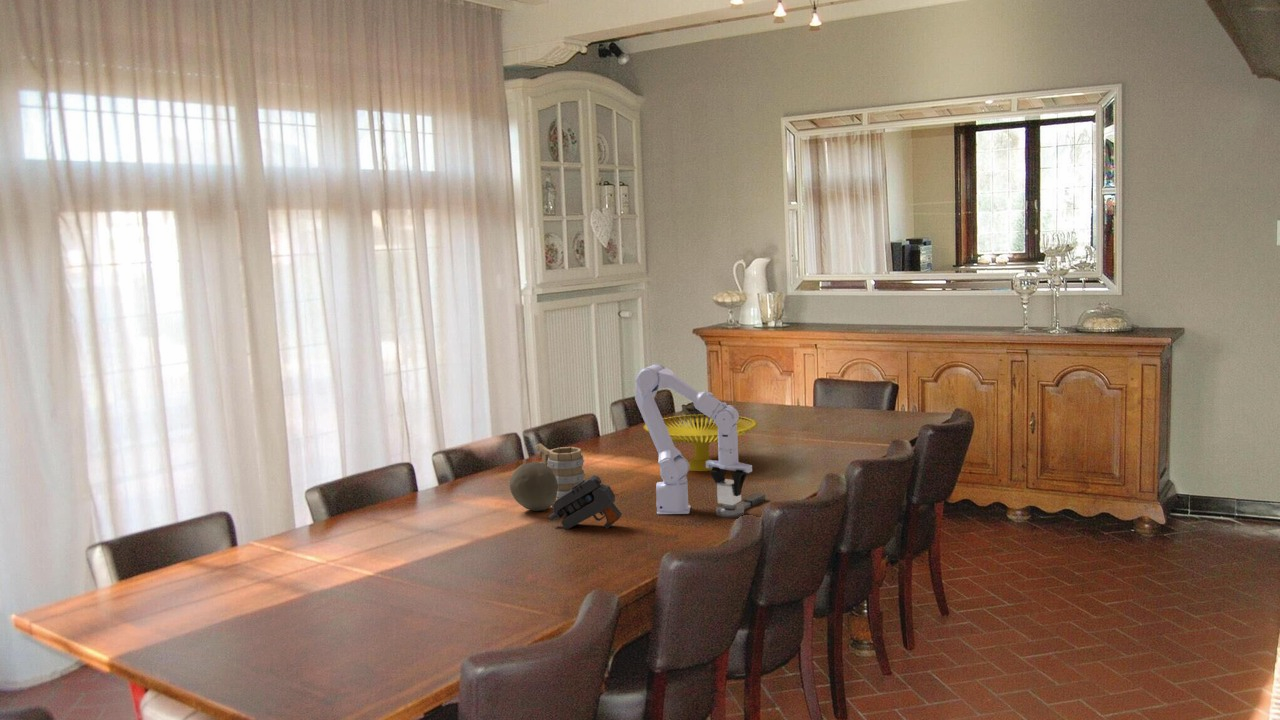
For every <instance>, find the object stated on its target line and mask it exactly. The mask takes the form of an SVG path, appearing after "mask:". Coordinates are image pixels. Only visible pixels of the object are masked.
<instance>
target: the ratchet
mask: <svg viewBox="0 0 1280 720" xmlns="http://www.w3.org/2000/svg"><path fill="white" fill-rule="evenodd" d="M765 501H766V494H764V493H763V494H762V493H757V492H756V493H754V494H751V495H749V496H747V497H745V498H744V499H742V500H741V501H740V502H738V503H736V504H734V505H728V504H720V505H717V506H716V508H715V510H716V516H717V517H719V518H722V519H723V518H724V519H735V518H740V516H741V517H743V516H745V510H748V509H749V508H751V507H755V506H757V505H758V504H760V503H762V502H765ZM742 515H743V516H742Z"/></svg>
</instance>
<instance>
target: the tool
mask: <svg viewBox="0 0 1280 720" xmlns="http://www.w3.org/2000/svg"><path fill="white" fill-rule="evenodd" d="M615 501H616V495H615V493H614V491H613V490H612V488H611V486H610V485H607V484H603V483H602V480H601V478H600V477H599V476H598V475H595V474H593V475H592V476H591V477H588V478H587V479H584V480H583V481H581V482H580V483H578V484H576V485H575V486H574V487H573V488H572V489H571V490H570V491H568V492H566V493H565V494H563V495H562V496H560V497H559V498H558V497H557V498H556V500H555V502H554V503H553V504H552V505H551V508H552V511H553V513H551V514H549V515H548V518H549V520H550V521H552V522H553V521H555V520H557V519H558V520H560V519H562V517H563V516H564V515H565V516H564V517H563V519H562V520H561V522H560V524H561V525H562V527H563V528H564V529H566V530H569V529H571V528H572V527H575V526H577V525H578V524H580V523H581V522H584V521H586V520H587V519H589V518H591V517H593V518H594V519H595V520H596V521H598V522H599V521H602V520H603V519H604V518H605V519H606V522H605V523H604V524H603V526H604V527H605V528H606V529H609V528H610V527H611V526H613V524H615V523H616V522H617V521H619V520H620V519H621V517H622V515H623V514H622V512H621V511H620V510H619V508H618V507H617V506H616V504H614V502H615ZM596 514H600V515H601V516H602V517H600V518H599V517H598V516H597V515H596Z"/></svg>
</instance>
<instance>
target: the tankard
mask: <svg viewBox="0 0 1280 720" xmlns="http://www.w3.org/2000/svg"><path fill="white" fill-rule="evenodd" d="M534 449H535V452H541V462H540V463H543V464H545V465H547V466H548V467H549V468H550V469H551V470H552V471H553V473H554V475H555V477H556V480H557V483H558V490H557V496H556V498H557V499H558V498H559V497H560V496H562V495H563V494H565V493H566V492H568V491H570V490H571V489H572V488H573V487H574V486H575V485H576V484H578V483H580V482H581V481H583V480H584V481H585V476H586V474H585V470H584V469H583V466H584V462H585V459H584V455H583V454H582V448H581V447H574V446H565V447H562V446H561V447H557V448H556V447H555V448H553V449H552V448H551V449H549V448H547V447H546V446H544V445H543V444H542V443H541V442H540V443H538V444H536V445H535V446H534Z"/></svg>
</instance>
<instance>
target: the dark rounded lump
mask: <svg viewBox="0 0 1280 720" xmlns="http://www.w3.org/2000/svg"><path fill="white" fill-rule="evenodd" d="M699 414H700V415H704V414H703V413H702V412H700V411H699V410H697V409H696V408H695V406H694V403H693V401H691V402H689V403H687V404H681V411H680V416H683V417H684V420H685V422H686V424H687V426H688V427H689V424H688V422H687V420H686V418H685V416H684V415H694V422H695V426H696V428H697V422H696V417H695V415H699ZM700 415H699V426H700V427H701V417H700ZM705 418H706V417H705V415H704V418H703V427H704V426H705ZM679 419H680V421H681V423H682V424H683V426H684V427H685V425H684V423H683V421H682V419H681V418H680V417H679ZM689 420H690V423H691V426H692V427H693V424H692V420H691V418H690V416H689ZM709 422H710V418H708V422H707V427H708V426H709ZM713 423H714V420H712V423H711V426H712V425H713ZM678 424H679V426H681V425H680V423H679V422H678ZM715 426H716V424H715ZM681 427H682V426H681ZM689 428H690V427H689Z"/></svg>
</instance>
